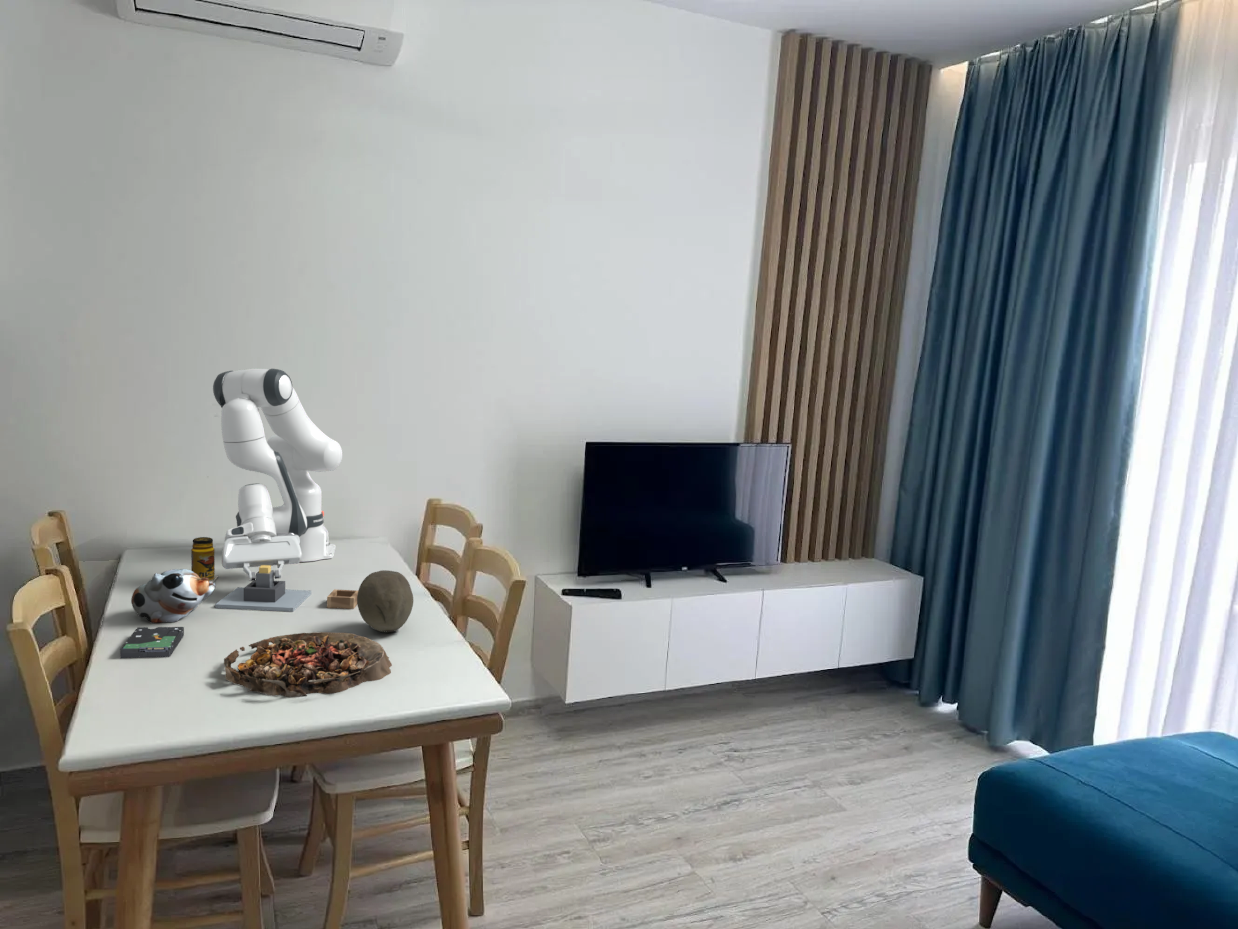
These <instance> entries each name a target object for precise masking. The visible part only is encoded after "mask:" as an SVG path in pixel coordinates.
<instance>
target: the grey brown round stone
mask: <svg viewBox="0 0 1238 929" xmlns="http://www.w3.org/2000/svg"><path fill="white" fill-rule="evenodd" d="M413 606H414V595H413V591H412V588H411V585H410V582H409V581H408V579H407V577H406V576H405V575H403V573H401V572H398V571H394V570H383V569H382V570H379V571H374V572H371V573H369V574H368V575H367V576H365V578H363V580H362V582H361V583H360V585H359V588H358V595H357V608H358V612H359V614H360V617H361V619H363V621H364V623H365V624H367V625H368V626H369V627H370V628H372V629H374V630H375V631H376V632H382V633H393V632H396V631H398V630H399V629H401V628H402V627H403V626H404V625H405V624H406V623H407V621H408V620H409V617H410V616H411V613H412V611H413Z"/></svg>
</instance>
